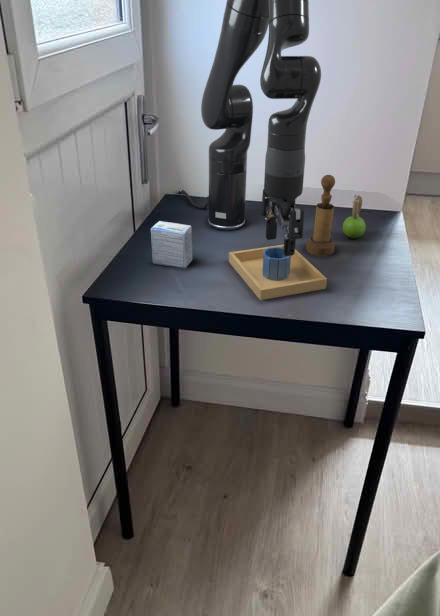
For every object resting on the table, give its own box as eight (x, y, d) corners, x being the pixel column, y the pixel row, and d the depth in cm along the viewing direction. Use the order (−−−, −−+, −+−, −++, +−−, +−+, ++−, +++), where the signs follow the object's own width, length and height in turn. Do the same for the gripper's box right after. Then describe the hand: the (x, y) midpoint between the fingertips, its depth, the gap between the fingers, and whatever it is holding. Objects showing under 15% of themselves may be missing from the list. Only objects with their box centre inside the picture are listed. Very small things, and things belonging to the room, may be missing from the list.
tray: (228, 263, 125) (229, 252, 123) (288, 254, 129) (289, 243, 128) (260, 302, 111) (260, 290, 109) (325, 290, 115) (327, 278, 113)
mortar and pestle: (333, 258, 127) (343, 181, 118) (304, 255, 128) (312, 179, 119) (334, 246, 133) (344, 171, 123) (306, 243, 134) (314, 169, 124)
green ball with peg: (338, 241, 135) (344, 193, 129) (343, 231, 140) (350, 185, 134) (361, 245, 134) (368, 196, 127) (365, 235, 139) (373, 188, 132)
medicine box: (192, 261, 125) (192, 225, 121) (185, 270, 122) (184, 233, 117) (160, 255, 127) (158, 220, 123) (152, 264, 124) (150, 227, 119)
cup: (257, 270, 121) (258, 249, 118) (282, 266, 123) (284, 245, 120) (268, 282, 116) (269, 260, 114) (294, 278, 118) (295, 256, 115)
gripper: (320, 178, 103) (312, 258, 111) (285, 157, 115) (280, 231, 123) (283, 182, 101) (277, 264, 109) (251, 161, 112) (249, 236, 121)
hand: (279, 246), depth 116 cm, fingers open, 8 cm apart
